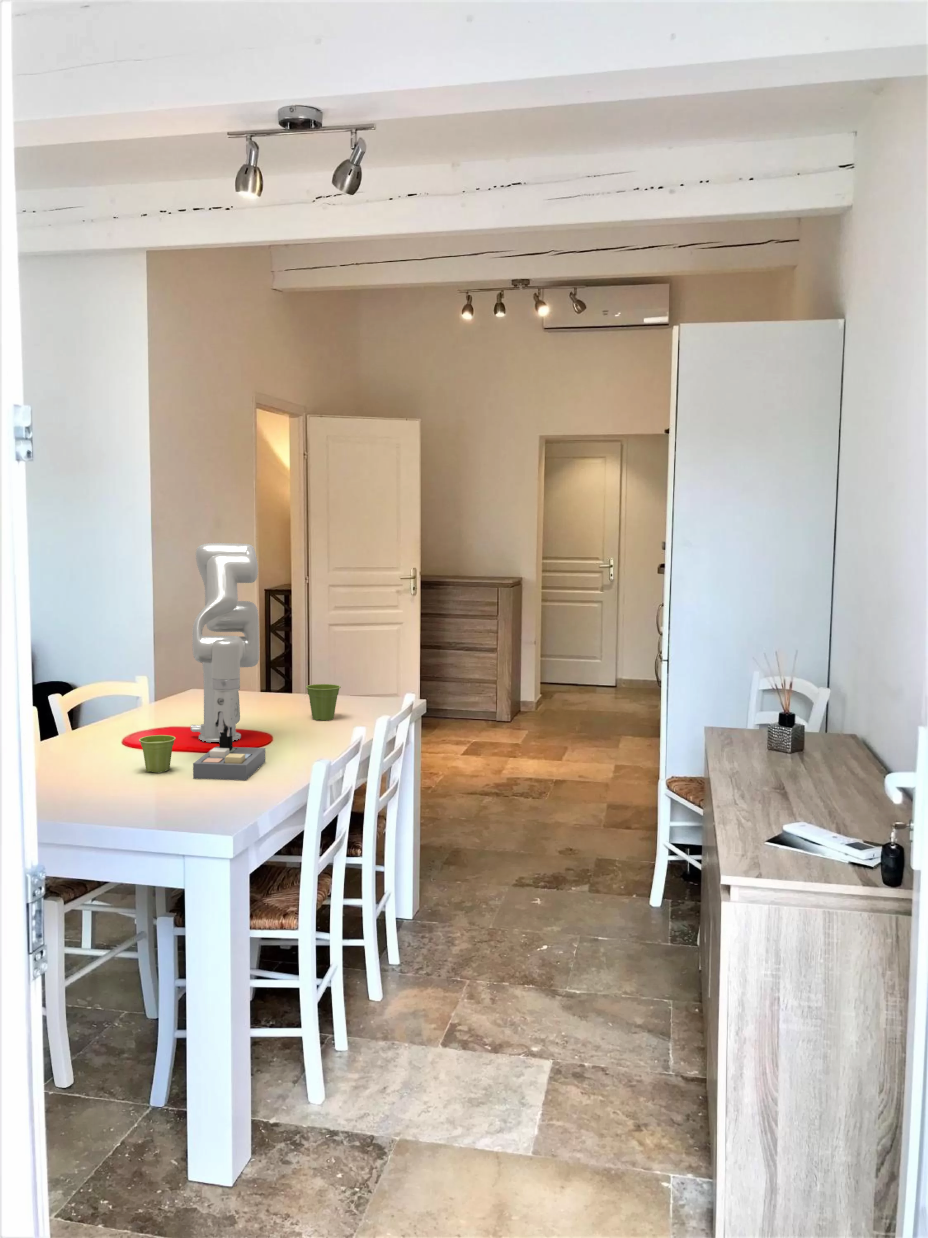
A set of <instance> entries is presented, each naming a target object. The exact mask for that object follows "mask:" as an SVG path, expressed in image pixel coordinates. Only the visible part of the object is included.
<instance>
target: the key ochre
mask: <svg viewBox="0 0 928 1238" xmlns="http://www.w3.org/2000/svg"><path fill="white" fill-rule="evenodd" d="M244 761H245V754H231V753H230V754H228V755H227V756H226V757H225V763H236V764H242V763H243V762H244Z"/></svg>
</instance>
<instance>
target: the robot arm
mask: <svg viewBox="0 0 928 1238" xmlns="http://www.w3.org/2000/svg"><path fill="white" fill-rule="evenodd" d="M255 550H256V549H255V547H254V546H253V545H252V544H249V543H229V542H228V543H227V542H211V543H209V542H208V543H203V544H201V545H198V547H197V548H196V550H195V561H196V565H197V570H198V572H199V575H200V577H201V580H202V582H203V586H204V606H203V608H202V609H201V611H199V613H198V614H197V615H196V617H195V619H194V621H193V625H192V629H191V630H192V631H191V632H192V633H191V634H192V635H191V636H192V640H191V641H192V645H191V646H192V655H193V658H194V660H195V661H196V662H198V663H202V671H203V673H202V675H203V676H202V677H203V723H202V724H190V731H191V732H193V733H200V734H199V735H198V740H199V739H200V740H202V741H201V742H204V741H206V742H205V743H211V742H219V745H218V746H219V748H229V751H231V750H232V747H233V742H235V741H234V740H236V741H238V739H239V740H240V739H241V738H242V734H241V733H240V732H237V729H236V726H237V724H238V723H239V722H240V721H241V711H240V710H241V709H240V708H241V707H240V695H239V694H240V693H239V691H240V690H241V668H253V667H256V666H257V665H258V663H259V660H260V623H259V622H260V621H259V620H260V619H259V610H258V607H257V605H256V603H255V602H253V601H249V600H239V597H238V584H252V583H255V582H256V581H257V579H258V575H259V564H258V559H257V555H256V551H255ZM204 627H206V628H207V630H209V631H211V632H214V633H215V632H216V633H242V634H243V636H238V635H203V629H204ZM200 740H199V741H200Z"/></svg>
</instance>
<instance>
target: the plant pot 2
mask: <svg viewBox="0 0 928 1238" xmlns="http://www.w3.org/2000/svg"><path fill="white" fill-rule="evenodd" d="M341 686H342V685H337V684H331V683H320V684H319V683H317V684H316V683H315V684H314V683H313V684H309V685H306V686H305V689H306V690H307V694H308V699H309V705H310V711H311V716H312V717H311V718H312V720H314V721H319V720H320V721H324V722H325V721H332V720H333V719H334V718H335V713H336V706H337V700H338V695H339V692H340V689H341Z"/></svg>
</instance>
